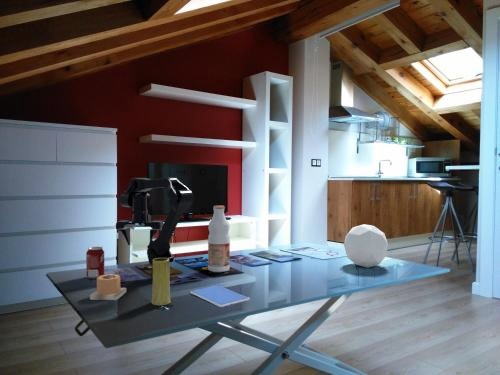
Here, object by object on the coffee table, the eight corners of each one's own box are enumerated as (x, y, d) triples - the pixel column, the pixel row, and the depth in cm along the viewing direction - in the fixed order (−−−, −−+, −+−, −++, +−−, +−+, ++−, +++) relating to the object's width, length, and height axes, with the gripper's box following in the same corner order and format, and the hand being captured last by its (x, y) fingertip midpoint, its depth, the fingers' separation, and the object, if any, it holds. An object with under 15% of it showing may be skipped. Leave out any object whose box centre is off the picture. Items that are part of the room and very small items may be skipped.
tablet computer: (251, 301, 134) (251, 297, 134) (220, 309, 126) (220, 305, 126) (218, 288, 149) (218, 284, 149) (188, 294, 141) (188, 290, 141)
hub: (122, 288, 141) (122, 274, 141) (114, 294, 134) (114, 279, 133) (102, 288, 141) (102, 274, 141) (94, 294, 134) (94, 279, 134)
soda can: (98, 280, 157) (98, 249, 157) (83, 279, 159) (82, 249, 158) (107, 275, 164) (107, 246, 163) (92, 274, 165) (92, 246, 165)
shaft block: (126, 292, 142) (126, 273, 141) (116, 300, 133) (116, 280, 132) (101, 291, 142) (101, 273, 142) (90, 299, 133) (89, 280, 133)
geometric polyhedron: (373, 283, 178) (383, 253, 166) (333, 262, 188) (339, 233, 175) (389, 257, 190) (399, 227, 178) (350, 238, 199) (357, 209, 187)
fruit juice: (205, 268, 177) (205, 205, 176) (224, 266, 181) (224, 204, 180) (212, 273, 168) (212, 207, 167) (233, 271, 172) (233, 206, 171)
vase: (153, 299, 133) (152, 257, 133) (171, 299, 134) (171, 257, 133) (150, 306, 127) (149, 261, 126) (169, 305, 128) (169, 261, 127)
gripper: (166, 206, 174) (167, 242, 174) (124, 206, 175) (125, 241, 175) (159, 208, 163) (160, 246, 163) (114, 208, 164) (115, 246, 164)
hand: (140, 245), depth 167 cm, fingers open, 9 cm apart
